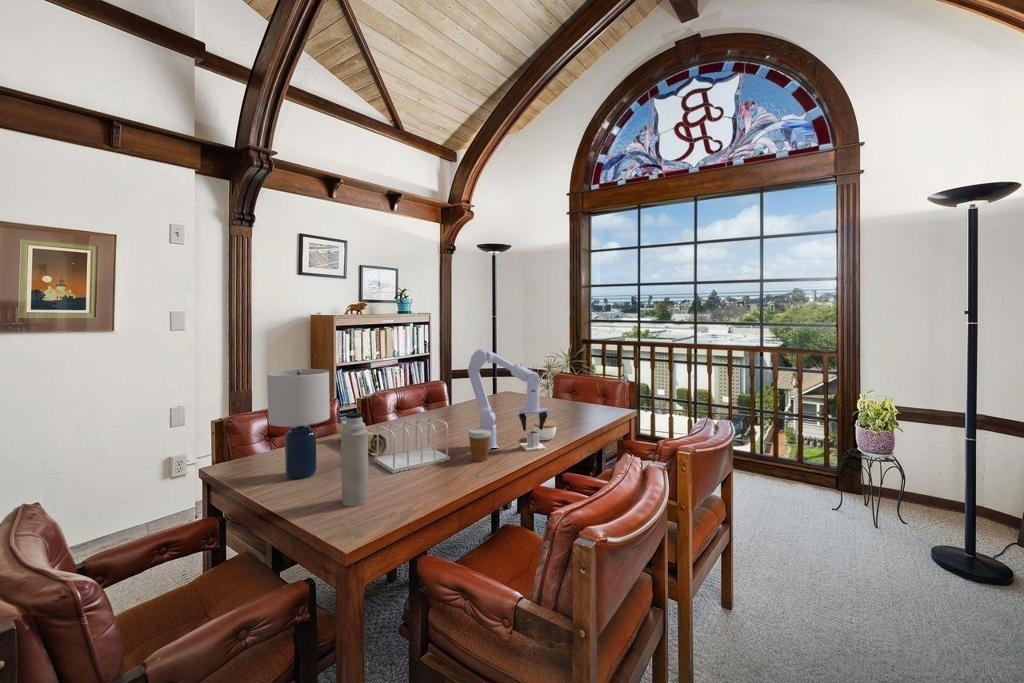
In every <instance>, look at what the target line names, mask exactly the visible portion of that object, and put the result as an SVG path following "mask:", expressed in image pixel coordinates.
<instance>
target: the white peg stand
mask: <svg viewBox="0 0 1024 683" xmlns="http://www.w3.org/2000/svg"><path fill="white" fill-rule="evenodd" d="M520 445H521V446H522V447H524V448H525V449H526V450H531V449H542V448H547V447H546V446H545V445H543V444H542V443H541V442H540V441H539V447H528V446H527V442H523V443H522V442H521V443H520ZM521 446H520V447H521ZM522 447H521V448H522Z"/></svg>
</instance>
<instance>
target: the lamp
mask: <svg viewBox="0 0 1024 683" xmlns="http://www.w3.org/2000/svg"><path fill="white" fill-rule="evenodd" d="M266 380H267V381H266V383H267V384H266V387H267V388H266V389H267V413H268V414H267V418H268V420H267V422H268V425H269V426H273V427H279V428H280V427H282V428H285V427H286V428H289V427H290V428H289V430H288V431H287V432H286V433H285V434H284V453H285V454H284V455H285V456H284V459H285V462H284V465H285V474H286V476H287V477H288V479H292V480H301V479H307V478H310V477H312V476H314V475H315V474H316V472H317V468H318V466H317V463H318V462H317V437H316V436H317V434H316V431H315V430H314V429H312V428H311V426H312V425H317V424H320V423H324V422H326V421H329V419H331V406H330V405H331V403H330V371H329V370H328V369H321V368H316V369H315V368H302V369H301V368H300V369H286V370H276V371H272V372H271V371H270V372H268V373H267V374H266ZM310 425H311V426H310Z"/></svg>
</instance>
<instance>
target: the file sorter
mask: <svg viewBox="0 0 1024 683" xmlns="http://www.w3.org/2000/svg"><path fill="white" fill-rule="evenodd" d="M431 420H433V421H437V422H439V423H442V424H444V425H445V427H446V444H445V445H446V451H445V453H446V454H445V453H444V452H441V451H439V450H437V449H436V429H435V426H434V425H433V423H430V422H431ZM418 422H420V423H422V424H425V425H427V447H426V446H425V447H423V429H422V427H421V426H420V425H418ZM406 424H408V425H411V426H413V427H415V449H410V432H409V430H408V429H407V428H406ZM392 426H394V427H396V428H399V429H402V450H403V451H400V452H396V437H395V434H394V432H393V431H392ZM430 426H431V428H432V430H433V431H432V432H433V447H431V446H430ZM376 428H377V429H376V433H377V456H374V459H373V460H374V463H376V464H377V465H379V466H381V467H382V468H384V469H385V470H387V471H388V472H390V473H392V474H395V473H396V472H397V473H400V472H399V471H401V472H404V471H403V470H406V471H409V470H408V469H410V470H413V469H412V468H415V469H418V468H417V467H419V468H422V467H421V466H424V467H426V466H425V465H428V466H430V465H429V464H433V463H437V462H442V461H446V460H450V461H451V456H449V426H448V423H447V422H446V421H443V420H441V419H438V418H435V417H432V416H431V417H429V418H428V421H427V422H426V421H424V420H421V419H417V420H416V421H415V423H414V422H410V421H403V424H402V426H401V425H398V424H395V423H391V424H390V425H389V428H386V427H385V426H382V425H378V426H377V427H376ZM380 428H381V429H382V430H383V431H386V432H389V454H386V455H378V452H379V451H378V439H379V434H380V433H379V431H380V430H379V429H380ZM418 429H419V432H420V448H418ZM405 432H406V433H405ZM405 434H406V435H405ZM406 436H407V440H405V437H406ZM392 439H393V440H392ZM392 441H393V443H392ZM405 441H407V443H405ZM406 444H407V448H405V446H406ZM392 445H393V447H392ZM392 448H393V450H392ZM406 449H407V450H406ZM392 452H393V453H392ZM446 462H447V461H446ZM442 463H443V462H442ZM437 464H438V463H437ZM433 465H434V464H433ZM397 473H396V474H397Z"/></svg>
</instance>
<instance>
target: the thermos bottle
mask: <svg viewBox="0 0 1024 683" xmlns="http://www.w3.org/2000/svg"><path fill="white" fill-rule="evenodd" d="M345 421H346V423H345V424H344V425H343V431H342V432H341V435H340V437H341V440H340V445H341V446H340V451H341V452H340V455H341V457H340V459H341V460H340V461H341V500H342V501H341V503H342V505H343V506H345V507H359V506H362V505H365V504H367V503H369V501H370V490H369V488H370V487H369V484H370V483H369V453H368V430H366V429H367V428H366V427H367V426H366V423H365V422H363V413H361V412H351V413H347V414H345ZM365 428H366V429H365Z"/></svg>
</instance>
